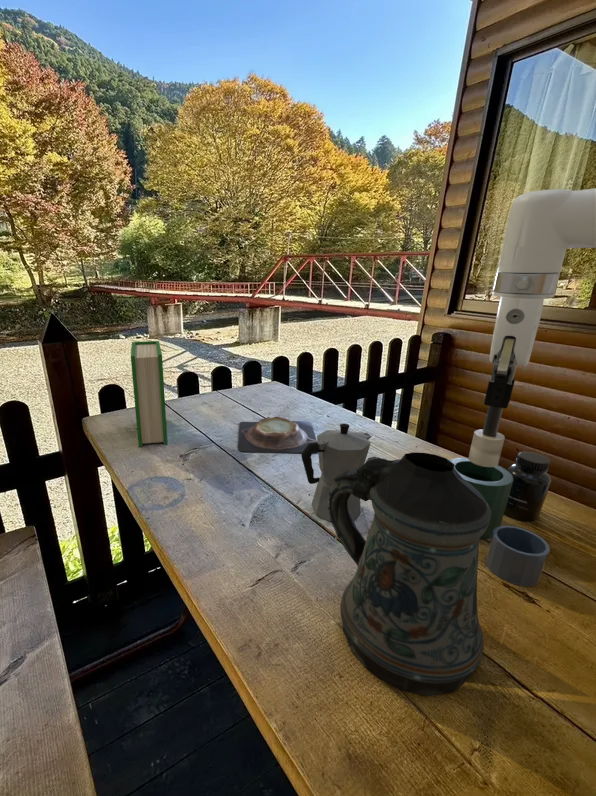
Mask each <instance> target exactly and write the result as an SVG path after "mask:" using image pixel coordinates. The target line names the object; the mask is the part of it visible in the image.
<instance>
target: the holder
mask: <svg viewBox="0 0 596 796" xmlns="http://www.w3.org/2000/svg"><path fill="white" fill-rule="evenodd" d="M550 552H551V549H550V545H549V543H548V542H547V540H545V538H542V537H541V536H540V535H538V534H536V533H535V532H532V531H530V530H528V529H525V528H522V527H518V526H515V525H500V526H499V527H497V528H495V529H494V530H493V533H492V537H491V538H490V540H489V545H488V548H487V552H486V555H485V566H486V567H487V569H488V570H489V571H490V573H492V574H493V575H495V576H496V577H497V578H499V579H500V580H503V581H505V582H507V583H510V584H512V585H515V586H520V587H533V586H536V585H538V583H539V582H540V581H541V579H542V575H543V573H544V569H545V567H546V563H547V561H548V557H549V555H550Z"/></svg>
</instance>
